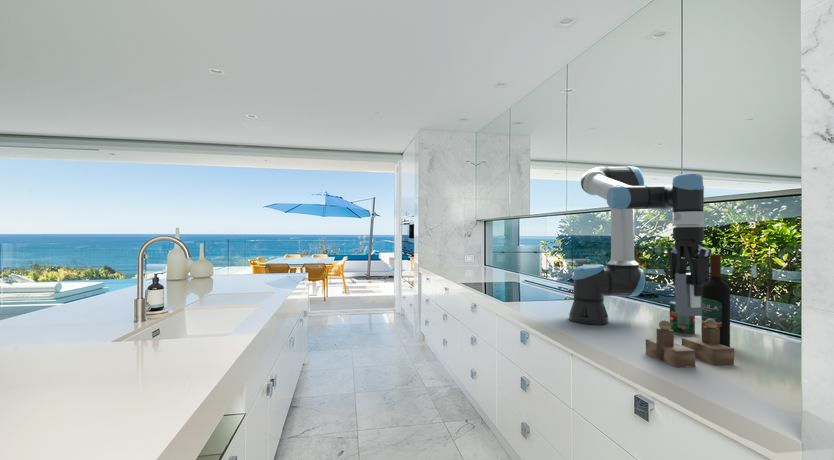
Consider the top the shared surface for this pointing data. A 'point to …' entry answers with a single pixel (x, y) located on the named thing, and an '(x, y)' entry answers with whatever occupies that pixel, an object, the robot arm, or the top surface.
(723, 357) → the pair of knobbed blocks
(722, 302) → the wine bottle
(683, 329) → the canned tomato
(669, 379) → the top surface
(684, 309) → the grey brushed pillar
